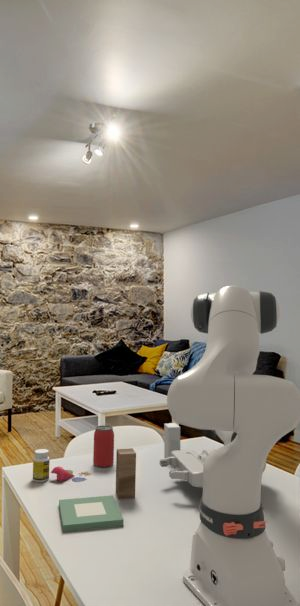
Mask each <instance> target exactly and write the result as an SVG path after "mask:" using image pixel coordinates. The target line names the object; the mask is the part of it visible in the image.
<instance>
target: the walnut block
mask: <svg viewBox="0 0 300 606" xmlns="http://www.w3.org/2000/svg"><path fill="white" fill-rule="evenodd" d="M115 454H116V460H115V495H116V497H117V499H118V500H126V499H135V498H136V482H137V481H136V478H137V477H136V475H137V474H136V473H137V472H136V471H137V452H136V451H135V450H134V448H130V447H129V448H116V453H115Z"/></svg>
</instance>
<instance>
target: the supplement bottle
mask: <svg viewBox="0 0 300 606" xmlns="http://www.w3.org/2000/svg"><path fill="white" fill-rule="evenodd" d="M49 452H50V451H49V449H46V448H39V449H35V450H34V457H33V459H32V460H33V461H32V481H33V482H36V483H45V482H47V481H49V479H50V460H51V459H50V457H49Z"/></svg>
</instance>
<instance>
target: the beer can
mask: <svg viewBox="0 0 300 606" xmlns="http://www.w3.org/2000/svg"><path fill="white" fill-rule="evenodd" d="M93 433H94V434H93V455H92V458H93V461H92V462H93V465H94V466H95V467H97V468H109V467H111V466H113V464H114V460H115V459H114V458H115V455H114V454H115V452H114V451H115V432H114V428H113V427H112V425H111V426H110V425H97V426H96V427H95V430H94V432H93Z"/></svg>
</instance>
